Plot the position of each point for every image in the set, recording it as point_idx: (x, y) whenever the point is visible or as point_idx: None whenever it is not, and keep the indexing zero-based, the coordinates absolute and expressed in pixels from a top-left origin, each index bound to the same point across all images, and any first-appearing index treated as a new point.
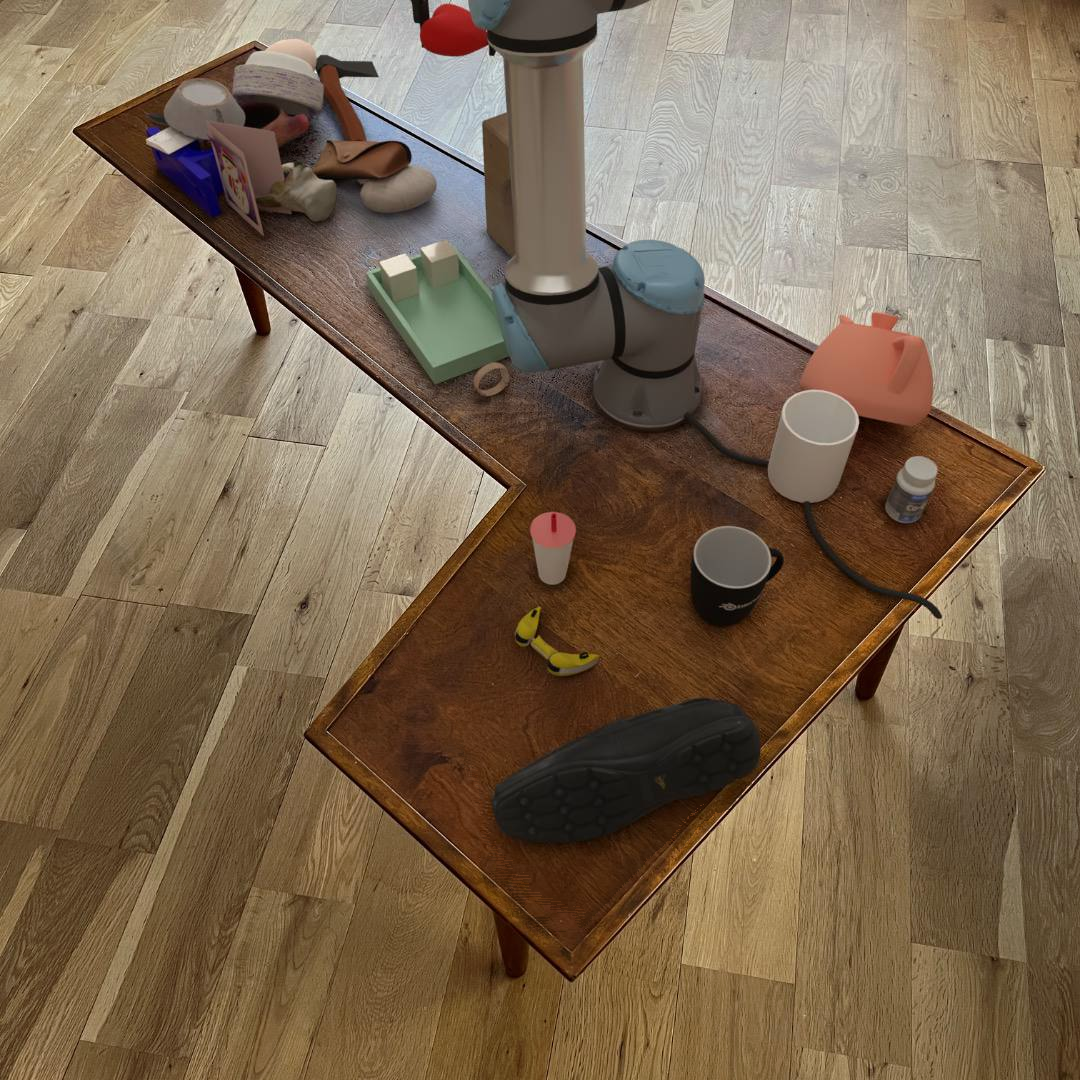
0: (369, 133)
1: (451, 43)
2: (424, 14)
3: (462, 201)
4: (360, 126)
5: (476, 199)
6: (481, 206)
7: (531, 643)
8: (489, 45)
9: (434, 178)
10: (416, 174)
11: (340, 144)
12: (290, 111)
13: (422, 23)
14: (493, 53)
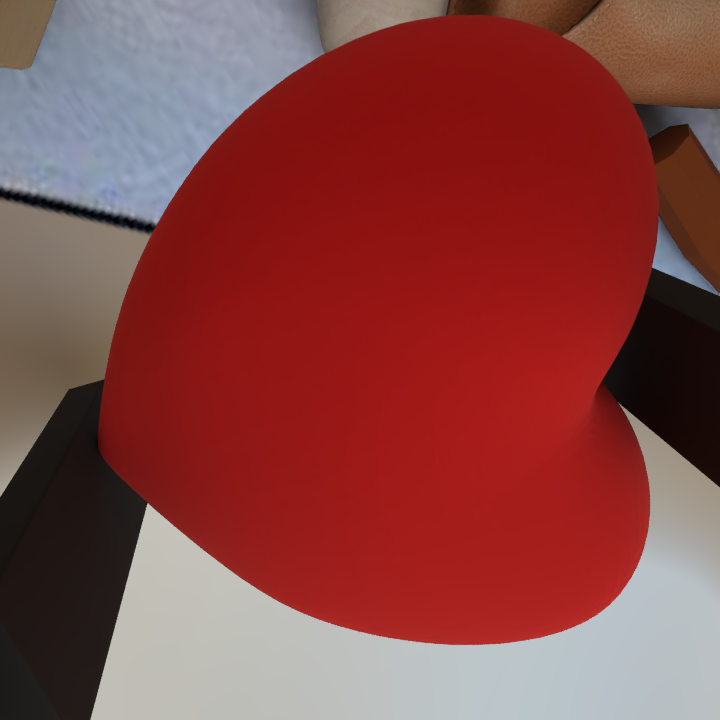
0: (660, 268)
1: (251, 111)
2: (706, 350)
3: (246, 94)
4: (693, 231)
5: (212, 126)
6: (176, 99)
7: None
8: (81, 416)
9: None
10: (391, 12)
11: (717, 33)
12: None
13: (675, 294)
14: (65, 396)
